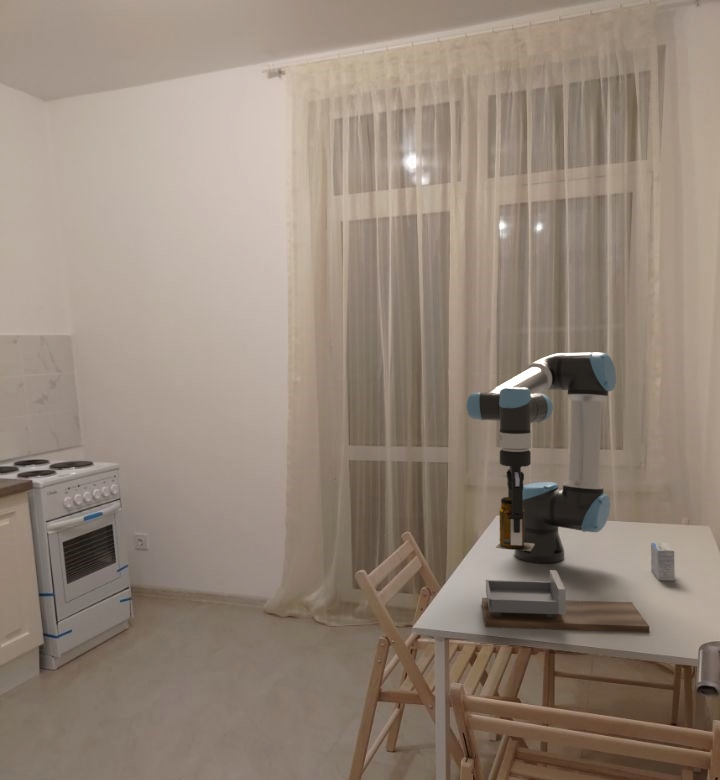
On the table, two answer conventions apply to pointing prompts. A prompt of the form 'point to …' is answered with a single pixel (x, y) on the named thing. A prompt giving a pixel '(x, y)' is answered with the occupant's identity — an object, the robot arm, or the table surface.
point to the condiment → (506, 528)
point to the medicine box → (662, 561)
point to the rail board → (575, 617)
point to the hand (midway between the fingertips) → (515, 540)
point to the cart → (527, 596)
